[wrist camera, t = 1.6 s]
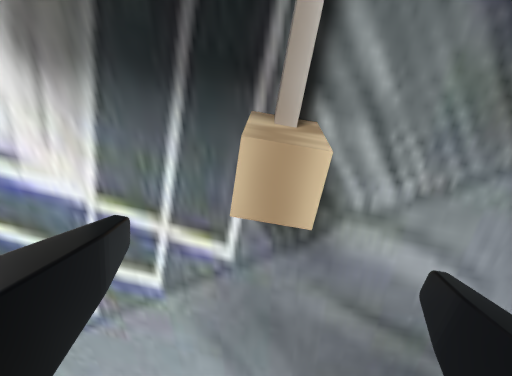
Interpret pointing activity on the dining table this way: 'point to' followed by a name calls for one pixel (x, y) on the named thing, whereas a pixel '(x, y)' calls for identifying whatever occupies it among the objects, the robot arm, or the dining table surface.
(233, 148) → the dining table surface
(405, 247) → the dining table surface
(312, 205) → the wooden mallet
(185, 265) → the dining table surface
